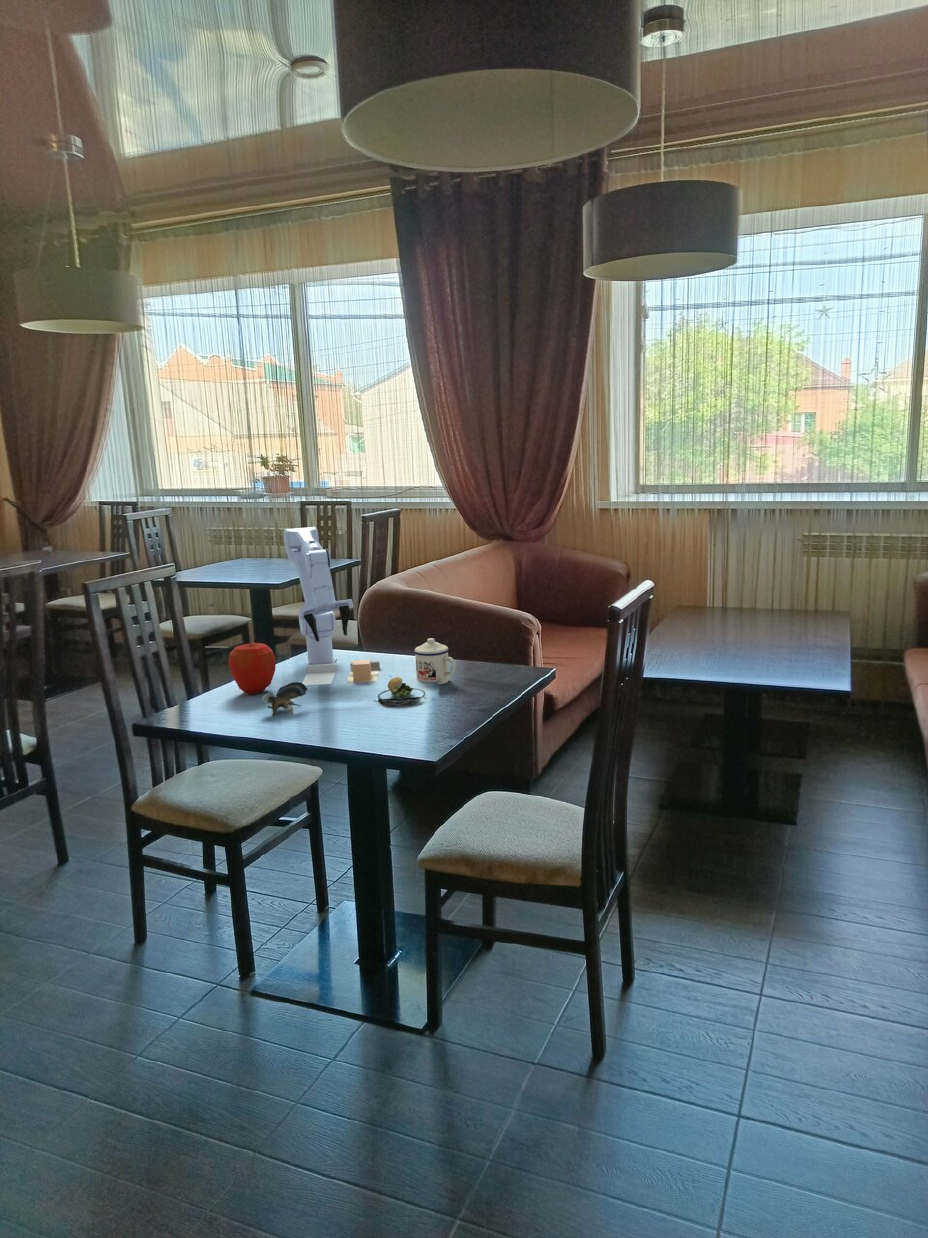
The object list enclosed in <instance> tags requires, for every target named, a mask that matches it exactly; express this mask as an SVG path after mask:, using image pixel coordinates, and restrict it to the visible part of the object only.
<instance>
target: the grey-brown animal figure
mask: <svg viewBox="0 0 928 1238" xmlns="http://www.w3.org/2000/svg"><path fill="white" fill-rule="evenodd" d="M306 686H307V685H304V684H302V682H300V681H292V682H289V683H288V684H285V685H284V686H281V687H279V688H278V690H277V692H276V695H275V696H274V695H273V694H271V693H265V694H264V695H262V697H261V698H262V701H263V702H264V703H265V704H271V706H267V708H268V709H271V710H272V717H275V716H276V714H278V710H279V709H280V708H282V709H285V710H288V711H290V712H291V713H292V714H293V713H294V709H293V707H292V706H297V707H302V705H301V704H297V703H295V702H294V701H293V699H297V698H298V697H303V696H305V695H306V694H307V691H308V688H307V687H306Z"/></svg>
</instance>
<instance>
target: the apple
mask: <svg viewBox="0 0 928 1238" xmlns="http://www.w3.org/2000/svg"><path fill="white" fill-rule="evenodd" d="M248 642H249V643H245V644H241V645H237V646H235V647H234V648H233V649H232V650H231V651H230V653H229V655H228V656H229V657H228V660H227V661H228V662H227V663H228V666H229V669H230V673H231V676H232V678H233V680H234V682H235V683H236V685H237V686H238V689H239V690H241V691H242V692H243V693H244V694H246V695H252V696H253V695H258V694H260V693H262V692H264V691H265V690H266V689H267V688H268V687H269V686H270V685H271V684H272V681H273V678H274V674H275V672H276V665H277V664H276V661H277V660H276V659H277V658H276V656H275V654H274V653H275V652H274V651H273V650H272V648H270V646H268V645H267V644H265V643H262V642H261V643H259V642H251V640H248Z"/></svg>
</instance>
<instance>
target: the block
mask: <svg viewBox="0 0 928 1238" xmlns="http://www.w3.org/2000/svg"><path fill="white" fill-rule="evenodd" d="M371 661H372V660H371V659H361V660H360V659H359V660H357V659H356V660H353V661H352V662H353V664H352V668H353V681H367V680H371V676H372V674H371Z"/></svg>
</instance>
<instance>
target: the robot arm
mask: <svg viewBox="0 0 928 1238" xmlns="http://www.w3.org/2000/svg"><path fill="white" fill-rule="evenodd" d="M318 531H319V530H318V529H317V527H316V526H310V527H298V528H297V527H295V528H285V529H284V530H283V543H284V547H285V554H286V556H287V559H288V560H290V561H292V562H294V564H295V567H296V570H297V573H298V576H299V577H298V578H299V582H300V587H301V591H302V595H303V599H304V605H303V606H302V607H300V608H299V610H298V622H299V630H300V633H301V635H303V636H305V640H306V649H307V650H306V652H307V665H312V664H330V663H336V662H337V657H334V655H333V641H332V635H333V633H334V632H335V631H336V629H337V620H336V616H335V615H336V614H335V613H334V612H336V611H339V614H340V615H339V616H340V619H341V626H342V628H341V629H342V633H343V635H344V637H345V636H348V626H349V624H348V623H349V620H350V617H351V609H353V608H354V604H353V602H354V601H353V600H352V598H350V599H344V600H342V599H341V600H336V595H335V591H334V590H335V589H334V585H333V580H332V574H331V563H332V562H331V555H330V551H329V549H328V548H325V549H323V548H322V547H323V546H321V544H320V541H319V540H320V538H319V532H318Z"/></svg>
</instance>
